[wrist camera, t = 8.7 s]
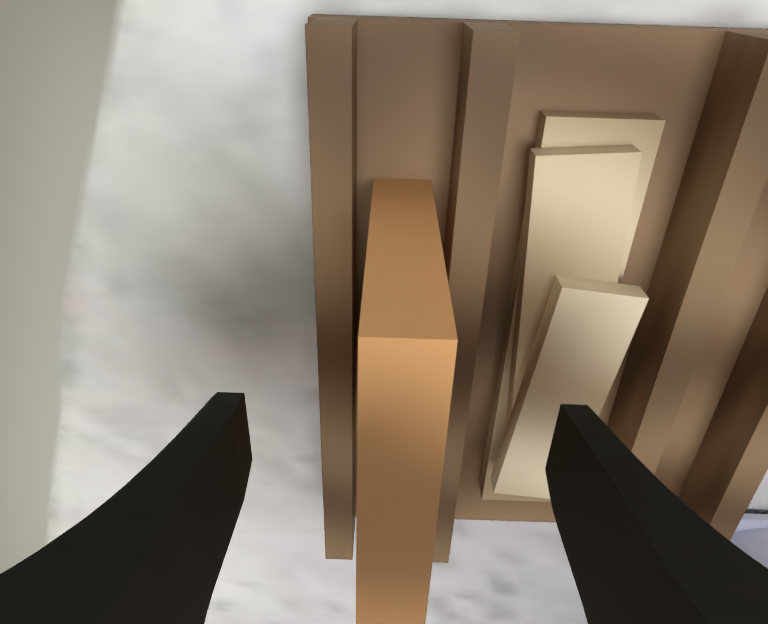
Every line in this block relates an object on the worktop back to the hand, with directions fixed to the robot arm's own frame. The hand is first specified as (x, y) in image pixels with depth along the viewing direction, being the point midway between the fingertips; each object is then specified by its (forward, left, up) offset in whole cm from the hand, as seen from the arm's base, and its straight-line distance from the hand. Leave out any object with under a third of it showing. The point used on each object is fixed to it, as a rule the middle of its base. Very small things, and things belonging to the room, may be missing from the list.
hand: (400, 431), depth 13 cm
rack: (-1, -5, -7) cm, 9 cm away
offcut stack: (-1, -5, -6) cm, 8 cm away
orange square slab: (0, 0, -6) cm, 6 cm away
